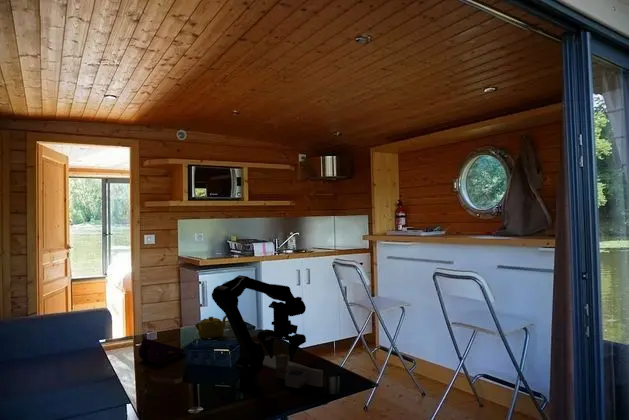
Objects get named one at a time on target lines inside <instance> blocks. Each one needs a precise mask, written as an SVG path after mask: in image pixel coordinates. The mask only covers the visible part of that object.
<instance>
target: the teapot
mask: <svg viewBox="0 0 629 420" xmlns="http://www.w3.org/2000/svg"><path fill="white" fill-rule="evenodd" d="M226 320H227V317H226V315H224V316H223V317H222V320H221V318H220V319H219V318H217V317H214V316H208V318H203V319H201V321H200V322H197V323H196V324H195V325H194V326H195V329H196V330H197V333H198V336H199V337H200V338H202V339H204V340H207V338H211V339H215V337H220V338H221V337H223V336H224V333H225V326H226Z"/></svg>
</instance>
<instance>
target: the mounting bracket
mask: <svg viewBox="0 0 629 420" xmlns="http://www.w3.org/2000/svg"><path fill="white" fill-rule="evenodd" d="M184 350H185V349H184V348H181V347H177V346H173V345H170V344H166V343H163V342H160V341H157V340H156V341H155V340H152V339H149V338H145V337H142V341H141V344H140V346H139V348H138V356H139V358H140V359H141V360H143V361H146V362H148V361H149V363H151V364H153V365H159V364H162V363H164V362H165V360H166V359H167V357H168V354H169V352H172V353H176V354H181V355H184V354H183V352H184V353H185V351H184Z"/></svg>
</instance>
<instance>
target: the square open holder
mask: <svg viewBox="0 0 629 420" xmlns="http://www.w3.org/2000/svg"><path fill="white" fill-rule="evenodd" d="M307 383H308V372H307V370H302V369H301V370H297V369H293V370H291V371H289V372H288V373H286V374H285V378H284V386H285V387H291V388H295V389H301V388H302V387H304V386H305V385H307Z"/></svg>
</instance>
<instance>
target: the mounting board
mask: <svg viewBox="0 0 629 420" xmlns="http://www.w3.org/2000/svg"><path fill="white" fill-rule="evenodd" d="M307 367H308V366H306V367H302V366H297V365H291V364H290V365H288V372H289V371H291V370H293V369H297V370H301V369H302V370H307V372H308V383H307V384H306V385H308V386H313V387H317V388H322V387H324V373H323V372H324V369H319V368H313V367H312V368H311V367H309V368H307Z"/></svg>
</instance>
